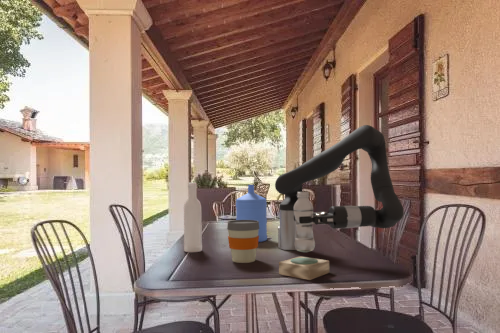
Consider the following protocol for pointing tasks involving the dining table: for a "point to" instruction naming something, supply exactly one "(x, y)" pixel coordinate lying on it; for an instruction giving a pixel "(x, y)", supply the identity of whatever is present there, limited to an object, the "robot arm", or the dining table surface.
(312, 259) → the base block
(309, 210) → the plastic bottle
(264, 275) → the dining table surface
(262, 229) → the water jug
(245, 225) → the reusable coffee cup
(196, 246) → the bottle
